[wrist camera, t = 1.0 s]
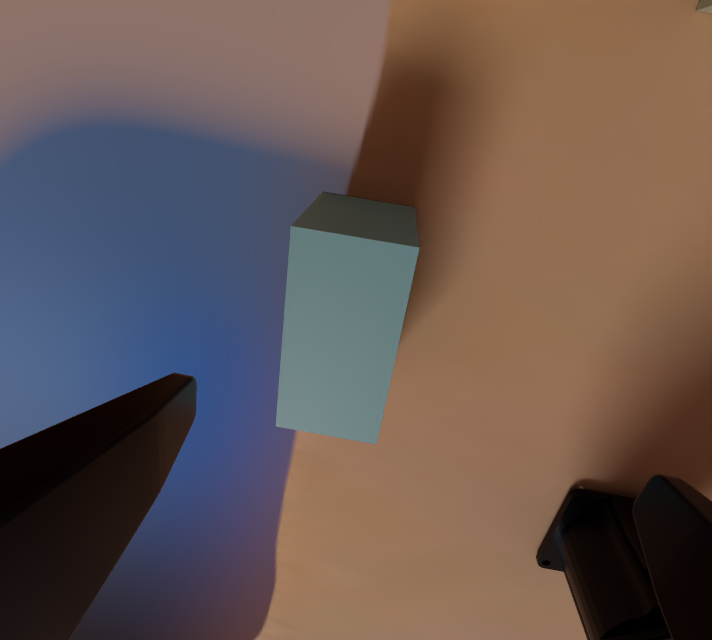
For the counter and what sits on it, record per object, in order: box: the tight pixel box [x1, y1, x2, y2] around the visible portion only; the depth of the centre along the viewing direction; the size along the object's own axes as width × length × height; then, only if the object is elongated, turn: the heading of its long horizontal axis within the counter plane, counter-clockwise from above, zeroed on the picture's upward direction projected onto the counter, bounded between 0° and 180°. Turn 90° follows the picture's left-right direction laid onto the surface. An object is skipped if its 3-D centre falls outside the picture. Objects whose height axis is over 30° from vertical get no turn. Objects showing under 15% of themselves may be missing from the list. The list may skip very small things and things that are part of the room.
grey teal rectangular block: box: [276, 192, 420, 444], centre depth 18 cm, size 8×4×6 cm, turn 172°
